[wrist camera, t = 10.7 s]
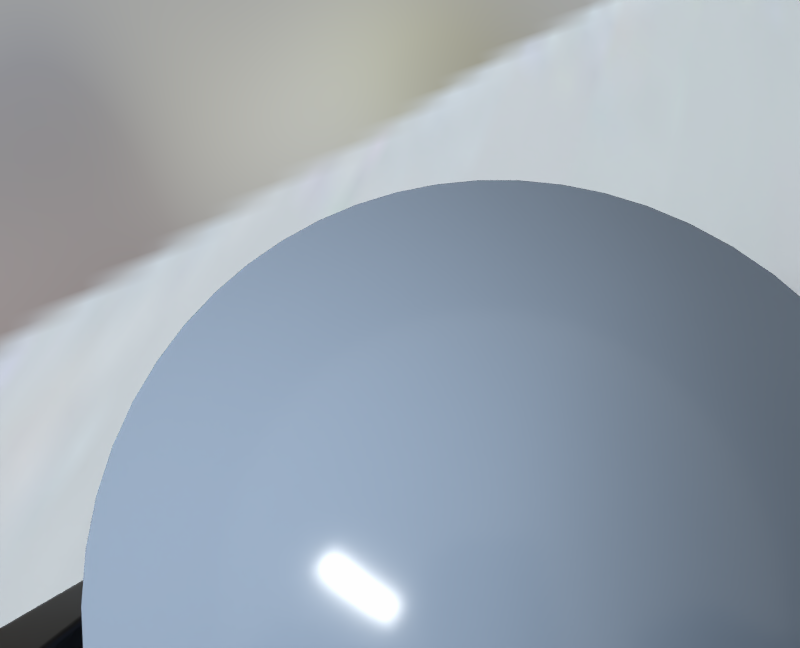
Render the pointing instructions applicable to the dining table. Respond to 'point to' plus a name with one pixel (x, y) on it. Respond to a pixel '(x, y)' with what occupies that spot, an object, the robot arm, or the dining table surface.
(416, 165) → the dining table surface
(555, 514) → the canister
